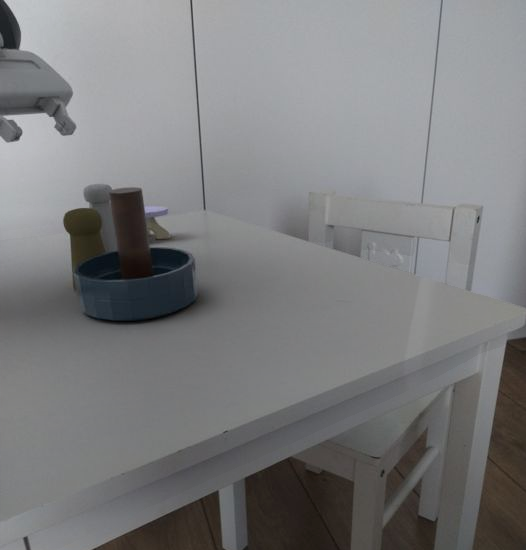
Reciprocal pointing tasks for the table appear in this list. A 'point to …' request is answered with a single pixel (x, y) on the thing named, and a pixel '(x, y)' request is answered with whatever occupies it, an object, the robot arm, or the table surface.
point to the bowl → (136, 286)
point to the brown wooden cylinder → (131, 232)
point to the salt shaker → (102, 212)
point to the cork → (83, 235)
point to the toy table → (152, 223)
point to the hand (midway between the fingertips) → (45, 134)
